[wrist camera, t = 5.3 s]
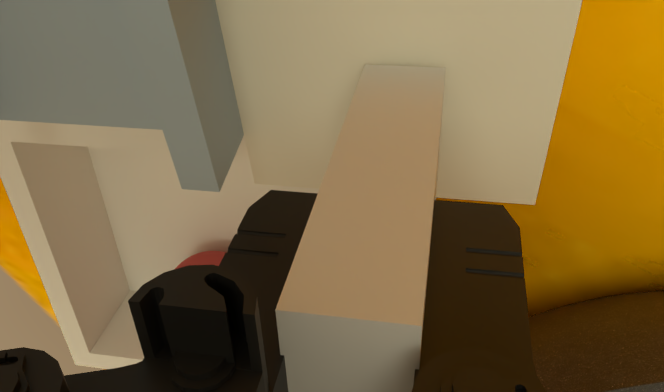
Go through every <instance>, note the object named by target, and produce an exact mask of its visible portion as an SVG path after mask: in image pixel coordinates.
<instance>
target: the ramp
mask: <svg viewBox="0 0 664 392" xmlns="http://www.w3.org/2000/svg"><path fill="white" fill-rule="evenodd" d="M581 4H582V0H0V120H11V121H27V122H43V123H60V124H76V125H92V126H108V127H125V128H141V129H157V130H163V133H164V136H165V139H166V142H167V145H168V148H169V151H170V154H171V157H172V160H173V163H174V166H175V170H176V173H177V176H178V179H179V182H180V185H181V188H182V189H187V190H199V191H212V192H220V190H221V188H222V185H223V183H224V181H225V178H226V176H227V174H228V171H229V169H230V167H231V164H232V162H233V159H234V157H235V155H236V152H237V150H238V148H239V145H240V143H241V141H242V138H243V136H244V137H245V142H246V147H247V151H248V156H249V161H250V165H251V170H252V175H253V179H254V184H262V185H275V186H289V187H302V188H315V189H320V186H321V183H322V181H323V178H324V175H325V173H326V170H327V167H328V164H329V162H330V159H331V156H332V153H333V151H334V148H335V145H336V142H337V140H338V137H339V134H340V132H341V129H342V126H343V123H344V121H345V118H346V115H347V112H348V110H349V107H350V104H351V101H352V99H353V96H354V93H355V90H356V88H357V85H358V82H359V80H360V77H361V74H362V71H363V69H364V66H365V64H367V65H391V66H416V67H441V68H446V71H445V85H444V98H443V112H442V126H441V139H440V153H439V167H438V180H437V194H436V198H449V199H462V200H475V201H489V202H502V203H516V204H529V205H535V203H536V199H537V194H538V190H539V186H540V181H541V177H542V173H543V168H544V164H545V160H546V155H547V151H548V147H549V142H550V138H551V134H552V129H553V125H554V121H555V117H556V112H557V108H558V104H559V99H560V95H561V91H562V86H563V82H564V78H565V73H566V69H567V65H568V60H569V56H570V52H571V47H572V43H573V39H574V34H575V30H576V26H577V22H578V17H579V13H580V9H581Z"/></svg>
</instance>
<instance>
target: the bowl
mask: <svg viewBox="0 0 664 392" xmlns="http://www.w3.org/2000/svg"><path fill="white" fill-rule="evenodd" d="M529 327H530V337H531V347H532V357H533V363H534V367H535V370H536V374H537V376H538V378H539V380H540V382H541V383H542V385H543V387H544V389H545V390H546V391H547V392H664V291H648V292H636V293H628V294H620V295H613V296H607V297H602V298H597V299H592V300H587V301H583V302H579V303H574V304H570V305H567V306H563V307H560V308H556V309H553V310H549V311H546V312H543V313H540V314H537V315H534V316H531V317H529Z"/></svg>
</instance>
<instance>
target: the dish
mask: <svg viewBox="0 0 664 392" xmlns="http://www.w3.org/2000/svg"><path fill="white" fill-rule="evenodd" d="M0 177H1V179H2V182H3V184H4V187H5V189H6V192H7V194H8V197H9V199H10V202H11V205H12V207H13V210H14V212H15V215H16V217H17V220H18V222H19V225H20V227H21V230H22V232H23V235H24V237H25V240H26V242H27V245H28V247H29V250H30V252H31V255H32V257H33V260H34V262H35V265H36V267H37V270H38V272H39V275H40V277H41V280H42V282H43V285H44V287H45V290H46V292H47V295H48V297H49V300H50V302H51V305H52V307H53V310H54V312H55V315H56V317H57V320H58V322H59V325H60V327H61V330H62V332H63V335H64V337H65V340H66V342H67V345H68V347H69V350H70V352H71V355H72V357H73V360H74V362H75V365H80V366H87V367H94V368H102V369H114V368H119V367H124V366H128V365H132V364H136V363H138V362H141V361H143V359H144V355H143V351H142V348H141V345H140V341H139V338H138V334H137V331H136V328H135V324H134V321H133V317H132V314H131V310H130V307H129V304H128V300H129V299H130V298H131V297H132V296H133V295H134V294H135V293H136V292H137V291H138V289H139V288H140V287H141V286H142V285H143V284H145V283H147V282H148V281H150V280H152V279H154V278H155V277H157V276H159V275H161V274H162V273H164V272H167V271H171V270H174V269H175V268H176V267H177V266H178V265H179V264H180V263H181V262H182V261H184V260H185V259H187V258H188V257H190V256H192V255H194V254H197V253H200V252H205V251H222V252H228V247H229V245H230V243H231V241H232V239H233V237H234V235H235V234H237V229H238V227H239V225H240V223H241V221H242V219H243V217H244V216H245V214H246V212H247V210H248V208H249V207H250V206H251V205H252V204H254V203H255V202H256V201H258V200H259V199H260V198H261V197H263V196H264V195H265V194H266V193H268V192H269V191H270V190H280V191H292V192H305V193H318V192H319V189H315V188H302V187H289V186H275V185H262V184H254V179H253V175H252V170H251V165H250V161H249V156H248V151H247V147H246V142H245V137H244V136H243V138H242V141H241V143H240V145H239V148H238V150H237V152H236V155H235V157H234V159H233V162H232V164H231V167H230V169H229V171H228V174H227V176H226V178H225V181H224V183H223V185H222V188H221V190H220V192H212V191H199V190H187V189H182V188H181V185H180V182H179V179H178V176H177V173H176V170H175V166H174V163H173V160H172V157H171V154H170V151H169V148H168V145H167V142H166V139H165V136H164V133H163V130H157V129H141V128H125V127H108V126H92V125H76V124H60V123H43V122H27V121H11V120H0Z"/></svg>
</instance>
